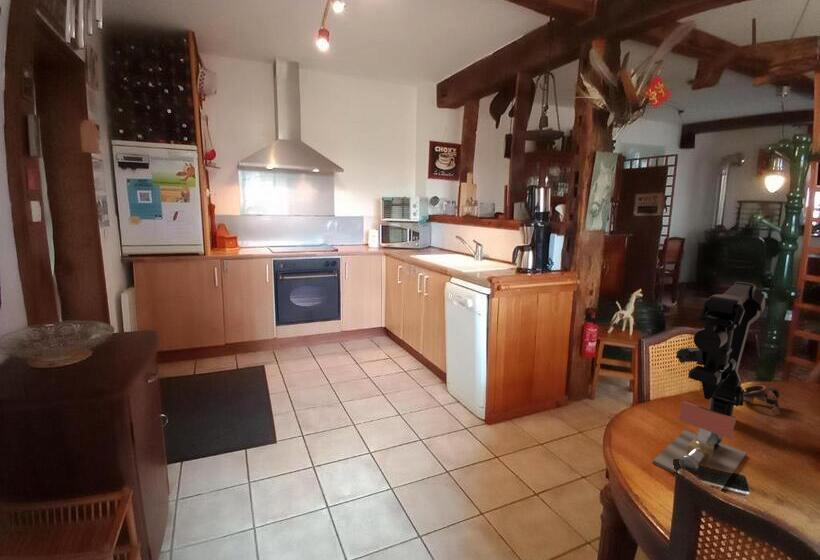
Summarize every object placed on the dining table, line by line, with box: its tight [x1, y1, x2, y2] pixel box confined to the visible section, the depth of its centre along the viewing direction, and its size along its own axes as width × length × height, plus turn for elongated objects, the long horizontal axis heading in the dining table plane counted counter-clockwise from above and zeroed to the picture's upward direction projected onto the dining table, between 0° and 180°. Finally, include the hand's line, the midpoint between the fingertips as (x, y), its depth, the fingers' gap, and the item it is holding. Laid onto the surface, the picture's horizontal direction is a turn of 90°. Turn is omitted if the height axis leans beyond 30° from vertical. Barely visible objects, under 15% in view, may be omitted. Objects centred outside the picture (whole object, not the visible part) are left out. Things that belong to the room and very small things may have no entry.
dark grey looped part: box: [743, 384, 781, 416], centre depth 134 cm, size 12×10×8 cm
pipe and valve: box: [679, 432, 723, 473], centre depth 105 cm, size 20×4×4 cm, turn 130°
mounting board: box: [652, 429, 747, 491], centre depth 106 cm, size 23×14×1 cm, turn 130°
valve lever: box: [678, 400, 737, 446], centre depth 104 cm, size 1×11×9 cm, turn 40°
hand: (708, 397), depth 113 cm, fingers closed
